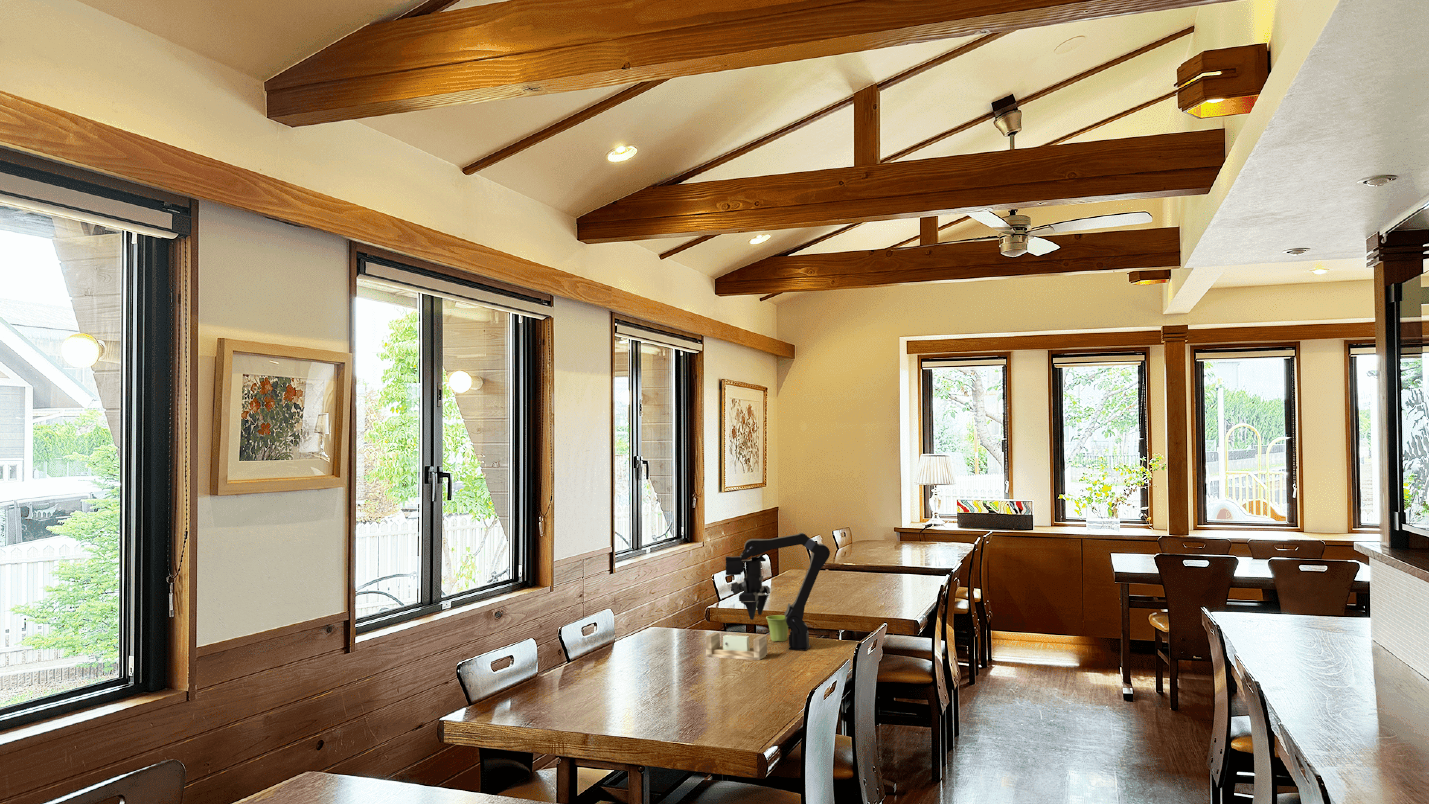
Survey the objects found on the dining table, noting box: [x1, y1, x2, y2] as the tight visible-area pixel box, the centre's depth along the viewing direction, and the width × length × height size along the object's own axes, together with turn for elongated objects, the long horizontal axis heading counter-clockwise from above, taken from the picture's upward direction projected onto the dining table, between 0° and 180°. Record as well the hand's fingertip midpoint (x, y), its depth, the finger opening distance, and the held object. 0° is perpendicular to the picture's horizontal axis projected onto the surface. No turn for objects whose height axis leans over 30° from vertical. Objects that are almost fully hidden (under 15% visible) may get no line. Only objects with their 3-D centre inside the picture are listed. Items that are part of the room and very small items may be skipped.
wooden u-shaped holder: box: [705, 631, 768, 661], centre depth 319 cm, size 20×8×7 cm, turn 67°
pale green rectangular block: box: [722, 634, 751, 651], centre depth 319 cm, size 9×3×6 cm, turn 68°
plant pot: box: [765, 614, 789, 642], centre depth 343 cm, size 9×9×9 cm
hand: (755, 617), depth 328 cm, fingers open, 9 cm apart
